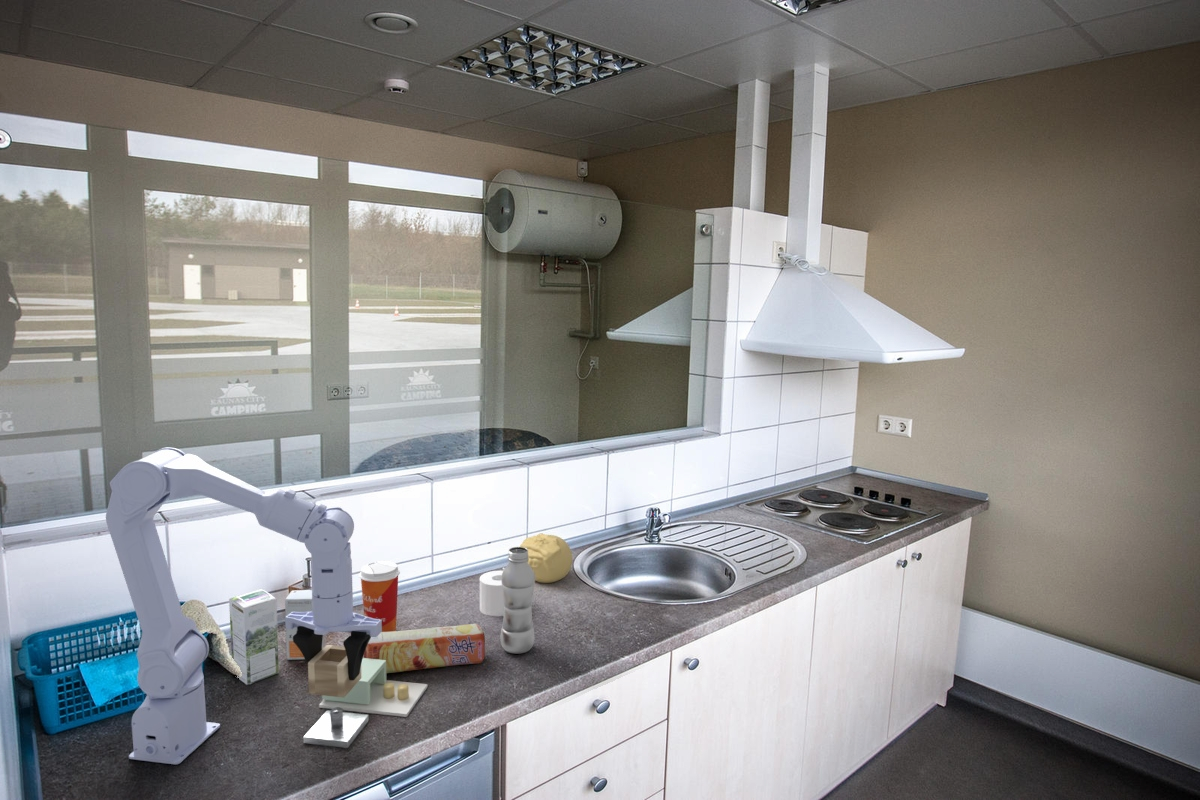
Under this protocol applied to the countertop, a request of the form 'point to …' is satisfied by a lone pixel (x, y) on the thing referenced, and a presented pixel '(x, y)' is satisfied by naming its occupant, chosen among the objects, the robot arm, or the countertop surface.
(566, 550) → the sculpture
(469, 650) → the snack package
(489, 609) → the toilet paper
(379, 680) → the cover
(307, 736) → the pin plate
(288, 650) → the skincare box
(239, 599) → the syrup box
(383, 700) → the plate
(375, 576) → the paper cup
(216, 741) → the countertop surface
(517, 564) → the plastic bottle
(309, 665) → the hollow square wooden block
